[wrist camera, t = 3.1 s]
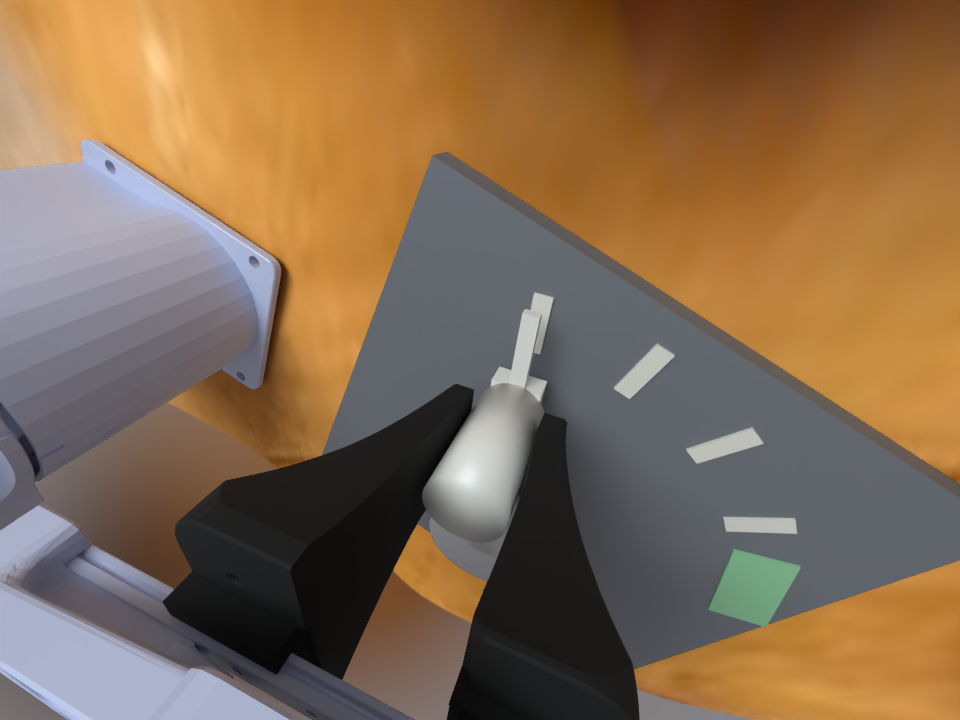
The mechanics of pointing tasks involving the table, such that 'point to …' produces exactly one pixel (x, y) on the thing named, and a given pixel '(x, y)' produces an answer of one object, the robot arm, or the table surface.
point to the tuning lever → (488, 463)
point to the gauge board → (648, 426)
